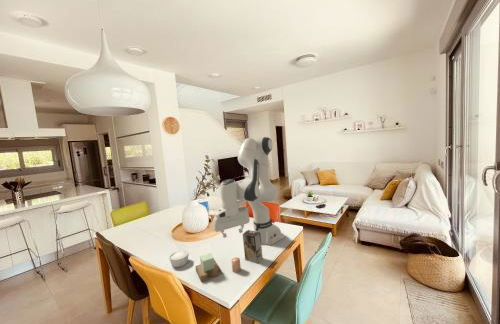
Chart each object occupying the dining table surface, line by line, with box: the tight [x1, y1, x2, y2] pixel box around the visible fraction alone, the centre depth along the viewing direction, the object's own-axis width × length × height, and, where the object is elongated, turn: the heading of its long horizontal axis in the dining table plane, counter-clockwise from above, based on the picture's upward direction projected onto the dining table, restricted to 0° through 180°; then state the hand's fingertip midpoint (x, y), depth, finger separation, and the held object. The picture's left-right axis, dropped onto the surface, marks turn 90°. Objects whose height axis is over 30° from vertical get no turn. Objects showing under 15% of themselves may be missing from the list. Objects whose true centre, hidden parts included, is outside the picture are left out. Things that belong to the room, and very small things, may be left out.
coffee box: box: [242, 229, 264, 264], centre depth 124 cm, size 9×6×16 cm
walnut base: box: [195, 259, 222, 283], centre depth 115 cm, size 11×11×3 cm
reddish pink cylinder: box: [230, 257, 242, 274], centre depth 115 cm, size 5×5×6 cm
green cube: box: [199, 252, 215, 272], centre depth 115 cm, size 6×6×6 cm
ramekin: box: [168, 249, 189, 268], centre depth 127 cm, size 11×11×5 cm
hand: (233, 234), depth 113 cm, fingers open, 8 cm apart
